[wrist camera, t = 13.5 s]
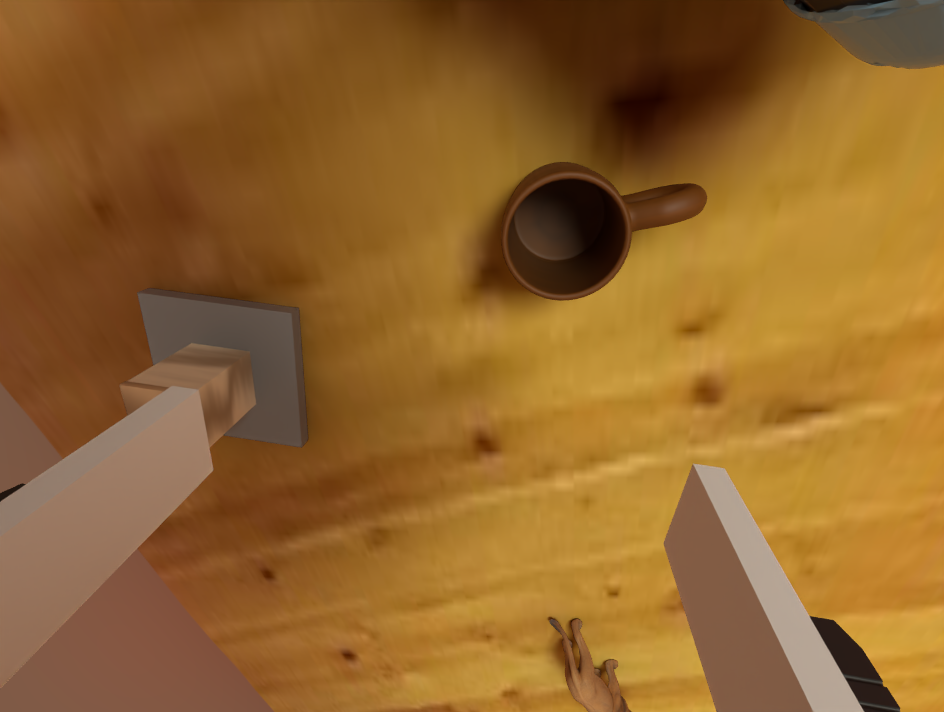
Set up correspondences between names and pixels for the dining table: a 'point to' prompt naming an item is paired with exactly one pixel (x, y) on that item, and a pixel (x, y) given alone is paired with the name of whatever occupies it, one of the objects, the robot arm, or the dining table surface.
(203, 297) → the slate board
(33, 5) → the dining table surface
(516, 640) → the dining table surface
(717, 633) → the robot arm
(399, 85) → the dining table surface
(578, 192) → the mug
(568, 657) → the lion figurine
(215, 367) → the oak block
